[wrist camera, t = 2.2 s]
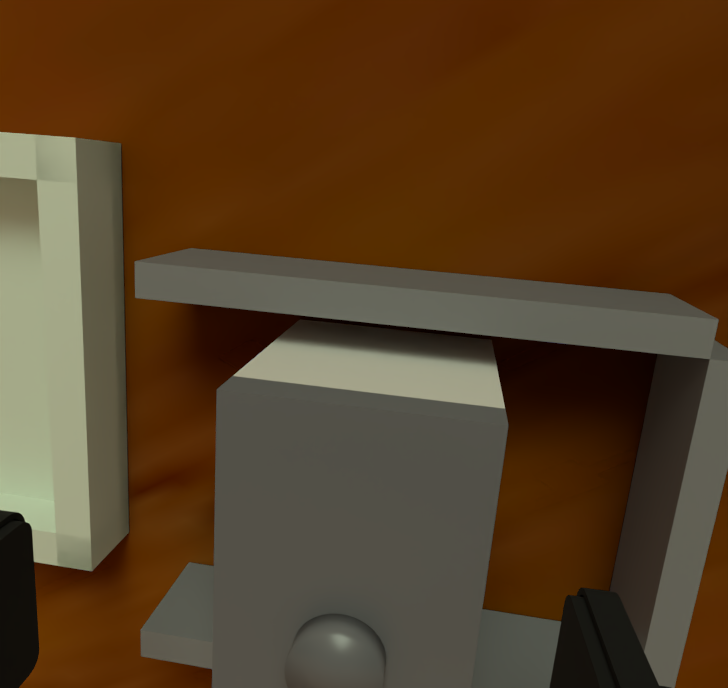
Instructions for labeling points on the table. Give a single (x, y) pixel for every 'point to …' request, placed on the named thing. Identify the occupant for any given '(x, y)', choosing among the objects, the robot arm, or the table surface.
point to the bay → (521, 321)
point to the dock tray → (63, 346)
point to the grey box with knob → (355, 509)
